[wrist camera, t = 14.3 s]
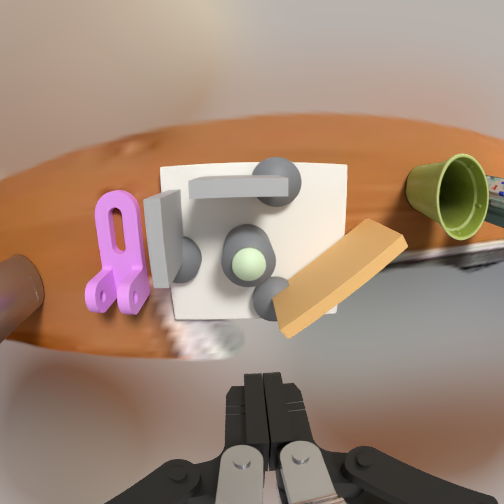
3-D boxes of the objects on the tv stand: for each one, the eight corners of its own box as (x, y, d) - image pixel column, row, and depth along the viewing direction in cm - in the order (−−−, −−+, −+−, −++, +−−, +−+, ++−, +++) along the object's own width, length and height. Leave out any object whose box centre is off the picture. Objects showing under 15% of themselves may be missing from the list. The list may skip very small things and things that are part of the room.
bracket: (150, 292, 33) (133, 320, 27) (112, 291, 33) (90, 318, 26) (138, 188, 29) (113, 195, 23) (98, 192, 29) (67, 200, 22)
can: (468, 165, 29) (545, 177, 15) (484, 193, 31) (555, 213, 17) (451, 194, 31) (530, 217, 17) (468, 221, 32) (540, 251, 18)
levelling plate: (170, 313, 34) (151, 359, 25) (155, 163, 28) (120, 164, 19) (332, 307, 35) (359, 350, 26) (342, 160, 29) (382, 160, 20)
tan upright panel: (270, 321, 33) (278, 363, 26) (243, 294, 32) (245, 332, 24) (379, 238, 30) (414, 260, 23) (358, 204, 29) (394, 219, 22)
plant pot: (423, 138, 28) (467, 137, 20) (455, 192, 31) (497, 203, 22) (381, 183, 30) (423, 191, 22) (417, 236, 32) (457, 257, 24)
